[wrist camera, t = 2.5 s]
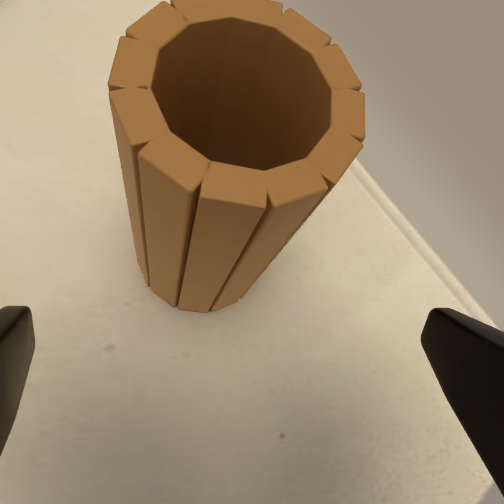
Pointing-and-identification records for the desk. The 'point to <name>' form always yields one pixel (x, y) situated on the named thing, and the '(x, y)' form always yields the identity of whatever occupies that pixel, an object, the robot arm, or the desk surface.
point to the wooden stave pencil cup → (227, 139)
